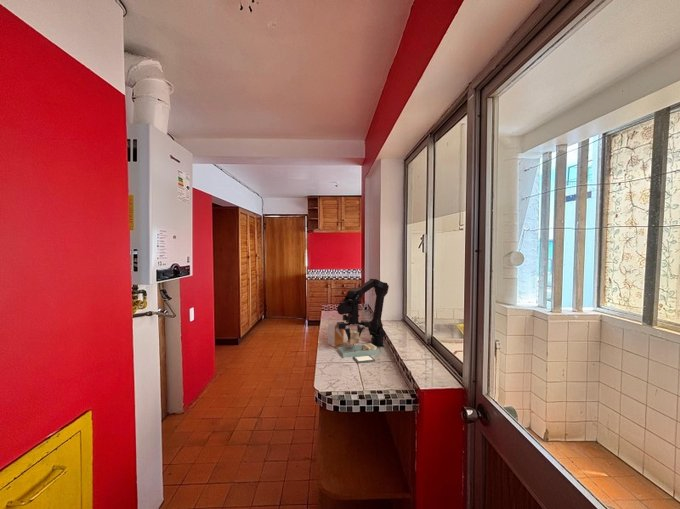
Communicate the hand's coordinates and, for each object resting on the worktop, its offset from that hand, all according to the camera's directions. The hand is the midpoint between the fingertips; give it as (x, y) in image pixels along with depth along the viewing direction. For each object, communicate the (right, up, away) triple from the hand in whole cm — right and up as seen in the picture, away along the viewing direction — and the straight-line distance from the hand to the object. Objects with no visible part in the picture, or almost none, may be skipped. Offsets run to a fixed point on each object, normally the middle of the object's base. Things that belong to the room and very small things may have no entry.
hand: (353, 339), depth 176 cm
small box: (-10, -8, +17) cm, 22 cm away
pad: (+5, -8, -10) cm, 14 cm away
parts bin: (+3, -8, +1) cm, 9 cm away
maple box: (+10, -8, +3) cm, 13 cm away
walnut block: (0, -2, 0) cm, 2 cm away
